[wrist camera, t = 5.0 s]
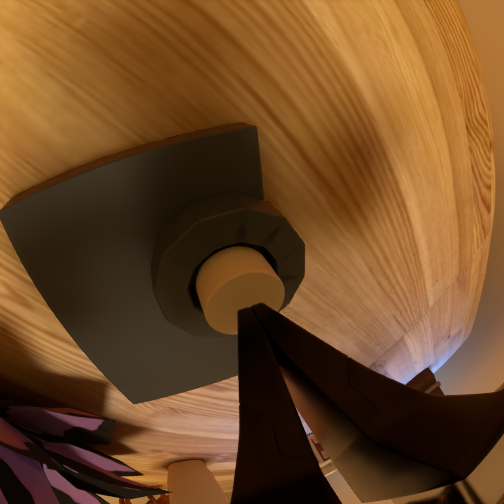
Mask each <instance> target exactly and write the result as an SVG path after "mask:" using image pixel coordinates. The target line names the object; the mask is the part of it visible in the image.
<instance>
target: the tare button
mask: <svg viewBox="0 0 504 504" xmlns="http://www.w3.org/2000/svg"><path fill="white" fill-rule="evenodd" d="M196 291H197V294H198V297H199V300H200V303H201V306H202V309H203V312H204V315H205V318H206V320H207V322H208V324H209V325H210V326H211V327H212V328H213V329H215V330H216V331H218V332H221V333H224V334H232V335H234V334H237V311H238V310H240V309H243V308H246V307H251V306H252V305H254V304H257V303H260V302H263V303H265V304H266V305H268V306H269V307H271V308H272V309H274V310H275V311H277V312H278V311H279V309H280V308H281V306H282V304H283V301H284V295H285V291H284V286H283V283H282V281H281V280H280V278H279V277H278V276H277V274H276V273H275V272H274V270H273V269H272V267H271V266H270V265H269V263H268V262H267V260H266V259H265V258H264V256H263V255H262V254H261V253H260V252H258V251H256V250H255V249H252V248H249V247H243V246H235V247H229V248H226V249H223V250H221V251H219V252H217V253H215V254H213V255H212V256H211V257H209V258H208V259H207V260H206V261H205V262H204V264H203V265H202V266H201V268H200V269H199V272H198V274H197V277H196Z"/></svg>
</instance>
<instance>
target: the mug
mask: <svg viewBox="0 0 504 504" xmlns="http://www.w3.org/2000/svg"><path fill="white" fill-rule="evenodd" d="M406 385H407V386H409V387H412V388H414V389H417V390H419V391H422V392H425V393H428V394H433V395H444V394H443V392H442V390H441V389H440V387H439V386H440V385H441V383H440V382H439V381H437V382H436V379H435V377H434V374H433V373H432V372H431V370H430V369H429V368H428V369H426V370H424V371H423V372H421V373H420V374H418V375H417V376H416V377H415V378H414V379H412V380H411V381H410V382H409V383H408V384H406Z"/></svg>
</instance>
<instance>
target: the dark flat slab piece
mask: <svg viewBox="0 0 504 504" xmlns="http://www.w3.org/2000/svg"><path fill="white" fill-rule="evenodd" d="M0 219H1V222H2V224H3V226H4V228H5V231H6V233H7V235H8V237H9V239H10V241H11V243H12V245H13V247H14V249H15V251H16V253H17V255H18V256H19V258H20V260H21V262H22V264H23V266H24V267H25V269H26V271H27V273H28V274H29V276H30V278H31V279H32V281H33V283H34V284H35V286H36V287H37V289H38V291H39V292H40V294H41V295H42V297H43V298H44V300H45V301H46V303H47V304H48V306H49V307H50V309H51V310H52V312H53V313H54V314H55V316H56V317H57V319H58V320H59V321H60V323H61V324H62V325H63V327H64V328H65V329H66V331H67V332H68V333H69V334H70V336H71V337H72V338H73V340H74V341H75V342H76V343H77V345H78V346H79V347H80V348H81V349H82V351H83V352H84V353H85V354H86V355H87V356H88V358H89V359H90V360H91V361H92V362H93V363H94V364H95V365H96V367H97V368H98V369H99V370H100V371H101V372H102V373H103V374H104V375H105V376H106V377H107V378H108V379H109V381H110V382H111V383H112V384H113V385H114V386H115V387H116V388H117V389H118V390H119V391H120V392H121V393H122V394H123V395H125V396H126V397H127V398H128V399H129V400H130V401H131V402H132V403H133V404H138V403H143V402H147V401H151V400H156V399H160V398H164V397H168V396H171V395H175V394H179V393H183V392H186V391H190V390H193V389H197V388H200V387H203V386H206V385H210V384H213V383H216V382H219V381H222V380H225V379H228V378H231V377H234V376H237V375H238V335H237V334H234V335H232V334H224V333H221V332H218V331H216V330H215V329H213V328H212V327H211V326H210V325H209V324H208V322H207V320H206V318H205V315H204V312H203V309H202V306H201V303H200V300H199V297H198V294H197V291H196V277H197V274H198V272H199V269H200V268H201V266H202V265H203V264H204V262H205V261H206V260H207V259H208V258H209V257H211V256H212V255H213V254H215V253H217V252H219V251H221V250H223V249H226V248H229V247H235V246H243V247H249V248H252V249H255V250H256V251H258V252H260V253H261V254H262V255H263V256H264V258H265V259H266V260H267V262H268V263H269V265H270V266H271V267H272V269H273V270H274V272H275V273H276V274H277V276H278V277H279V278H280V280H281V281H282V283H283V286H284V291H285V295H284V301H283V304H282V306H281V308H280V309H279V311H281V310H282V309H283V308H284V307H286V306H287V304H289V303H290V301H291V299H292V298H293V296H294V294H295V292H296V291H297V289H298V287H299V285H300V283H301V282H302V280H303V278H304V275H305V243H304V242H303V240H302V239H301V238H300V236H299V235H298V234H297V232H296V231H295V230H294V228H293V227H292V226H291V224H290V223H289V222H288V221H287V219H286V218H285V217H284V216H283V215H282V214H281V213H280V212H278V211H277V210H276V209H275V208H274V207H273V206H272V205H271V204H270V203H269V202H267V201H265V200H264V192H263V182H262V172H261V162H260V153H259V143H258V134H257V127H256V126H254V125H251V124H247V123H244V122H241V123H235V124H230V125H224V126H219V127H214V128H209V129H204V130H200V131H195V132H191V133H187V134H182V135H178V136H174V137H170V138H167V139H163V140H159V141H156V142H152V143H149V144H145V145H142V146H138V147H135V148H132V149H129V150H126V151H123V152H120V153H117V154H114V155H111V156H108V157H105V158H102V159H99V160H97V161H94V162H91V163H89V164H86V165H83V166H81V167H78V168H76V169H73V170H71V171H69V172H66V173H64V174H62V175H59V176H57V177H55V178H52V179H50V180H48V181H46V182H44V183H42V184H39V185H37V186H35V187H33V188H31V189H29V190H27V191H25V192H23V193H21V194H19V195H17V196H15V197H14V198H12V199H10V200H9V201H8V202H7V204H6V205H5V206H4V207H3V208H2V209H1V210H0ZM279 311H278V312H279Z"/></svg>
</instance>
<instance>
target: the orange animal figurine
mask: <svg viewBox="0 0 504 504" xmlns="http://www.w3.org/2000/svg"><path fill="white" fill-rule="evenodd" d="M158 489H159V488H158ZM160 495H161V497H160V498H158V499H157V500H156V499H155V498H154V497H153V496H152V495H151V496H147V497H148V498H149V499H150V500H149V501H148V502H147V503H146V504H170V501H169V494H168V495H167V496H166V495H165V494H160ZM119 504H132V503H131V502H130V499H125V501H124V498H119Z"/></svg>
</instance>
